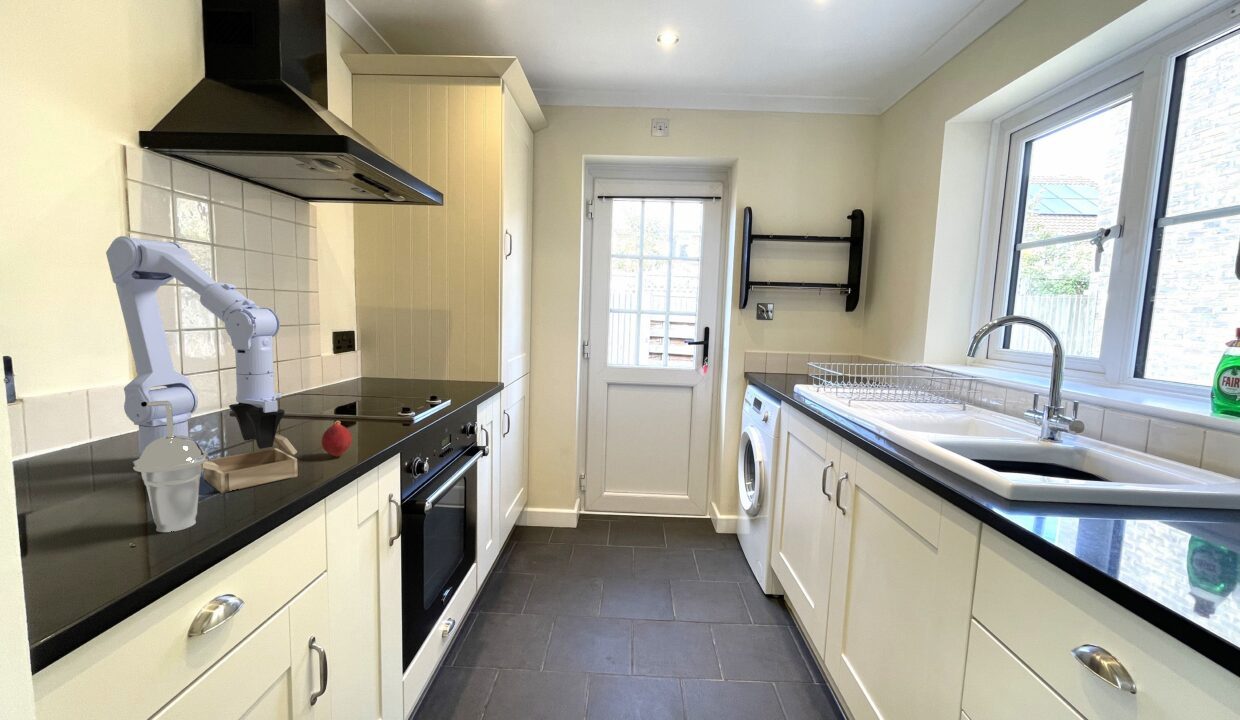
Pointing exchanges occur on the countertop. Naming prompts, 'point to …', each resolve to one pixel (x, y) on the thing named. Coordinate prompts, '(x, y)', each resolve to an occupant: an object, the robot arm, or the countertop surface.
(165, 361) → the robot arm
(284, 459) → the carton
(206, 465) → the flap
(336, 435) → the red rounded oval piece
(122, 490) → the countertop surface
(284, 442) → the flap
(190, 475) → the cup with straw
